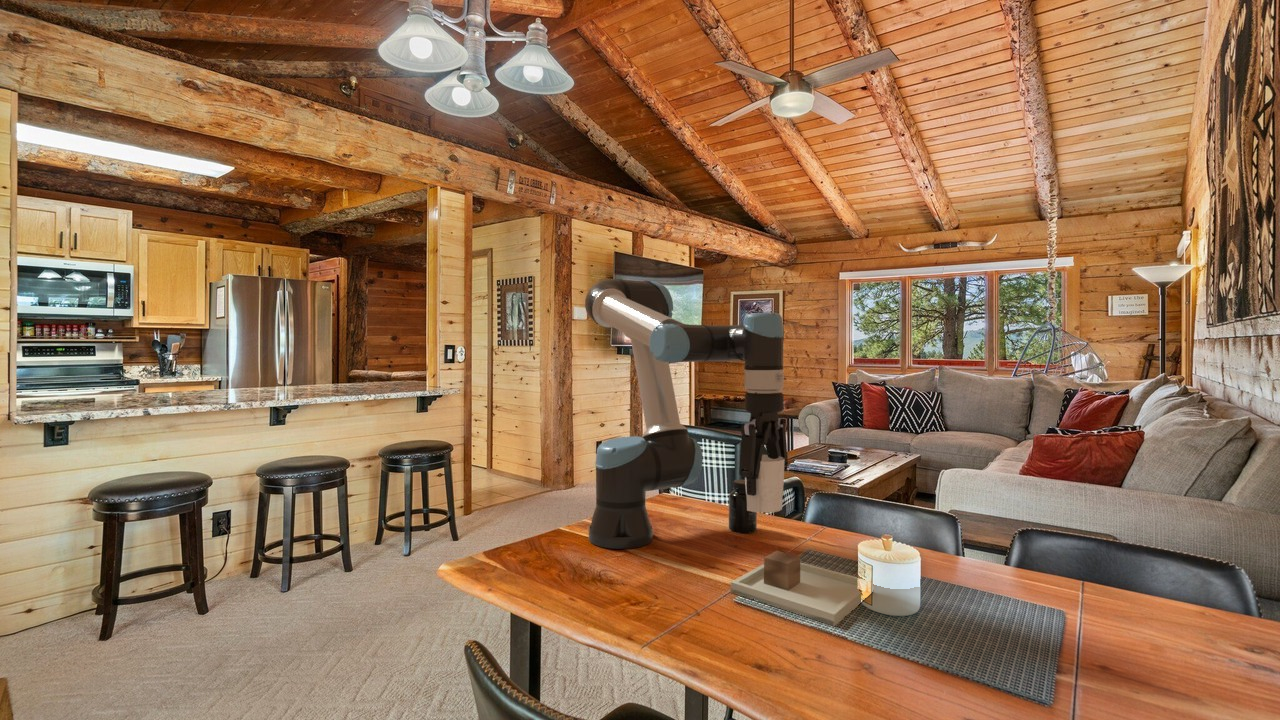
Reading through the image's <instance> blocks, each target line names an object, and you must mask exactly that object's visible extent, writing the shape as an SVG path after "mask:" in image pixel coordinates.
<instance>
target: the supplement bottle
mask: <svg viewBox="0 0 1280 720" xmlns="http://www.w3.org/2000/svg"><path fill="white" fill-rule="evenodd" d="M732 484H733V485H732V486H733V487H732V489H733V491H731V492H730V493H729V496H728V529H729V530H730V531H731V532H733V533H735V532H736V534H743V535H745V534H746V535H747V534H748V533H749V534H752V533H755V532H756V531H757V526H758V513H757V512H752V511H747V495H746V487H745V479H734V480H733V482H732Z"/></svg>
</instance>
